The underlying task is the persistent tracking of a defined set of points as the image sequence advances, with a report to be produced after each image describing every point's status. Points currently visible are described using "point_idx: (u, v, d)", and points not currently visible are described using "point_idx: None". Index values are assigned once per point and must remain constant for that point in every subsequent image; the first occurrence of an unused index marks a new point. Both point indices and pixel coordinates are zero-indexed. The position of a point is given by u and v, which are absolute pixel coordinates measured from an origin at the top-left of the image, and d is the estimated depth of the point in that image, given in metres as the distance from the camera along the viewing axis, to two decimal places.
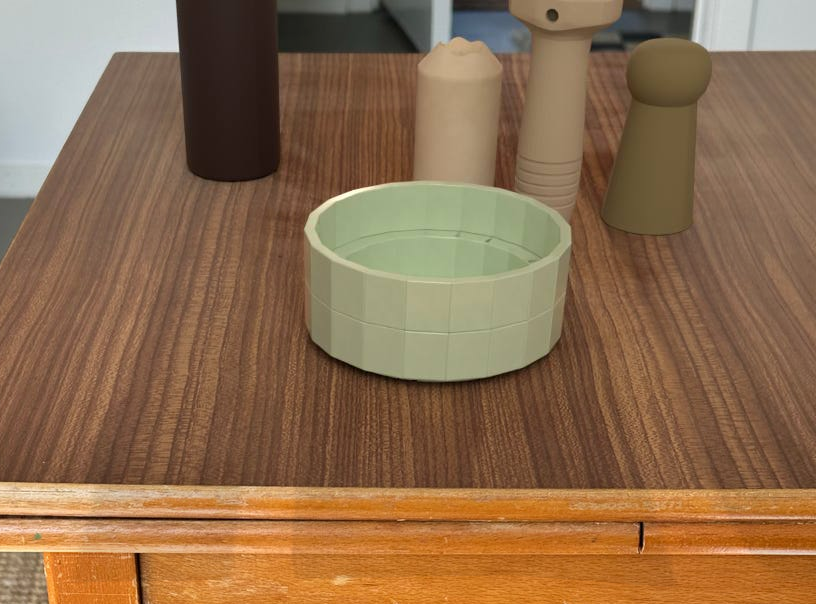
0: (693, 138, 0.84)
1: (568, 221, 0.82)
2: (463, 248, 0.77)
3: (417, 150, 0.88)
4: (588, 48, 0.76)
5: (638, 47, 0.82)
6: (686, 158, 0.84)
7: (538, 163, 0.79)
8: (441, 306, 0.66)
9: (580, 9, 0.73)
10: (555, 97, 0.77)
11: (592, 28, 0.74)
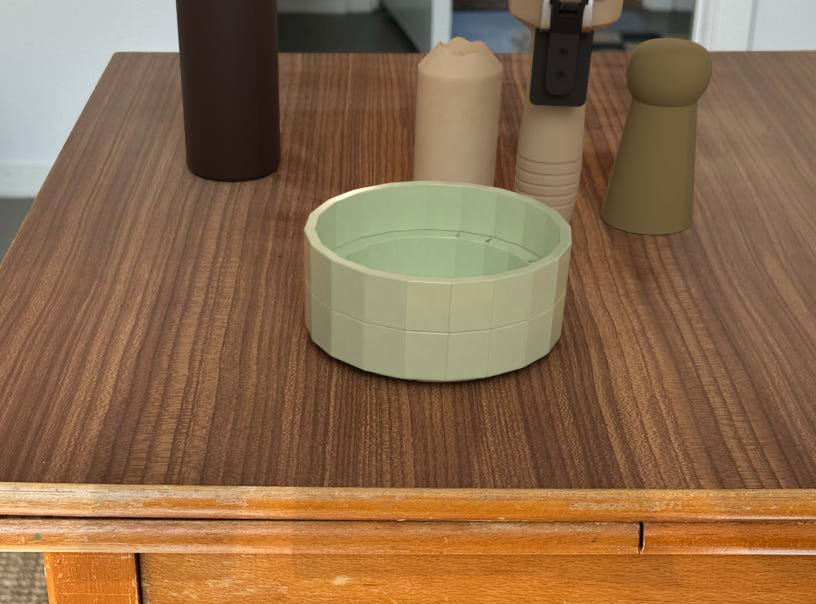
0: (693, 138, 0.84)
1: (568, 221, 0.82)
2: (463, 248, 0.77)
3: (417, 150, 0.88)
4: None
5: (638, 47, 0.82)
6: (686, 158, 0.84)
7: (538, 163, 0.79)
8: (441, 306, 0.66)
9: None
10: None
11: (592, 28, 0.74)
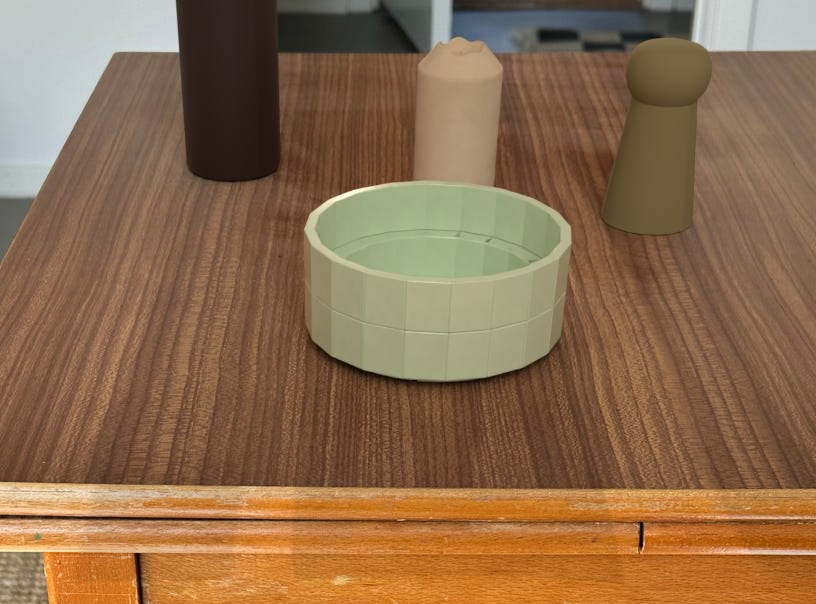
0: (693, 138, 0.84)
1: None
2: (463, 248, 0.77)
3: (417, 150, 0.88)
4: None
5: (638, 47, 0.82)
6: (686, 158, 0.84)
7: None
8: (441, 306, 0.66)
9: None
10: None
11: None
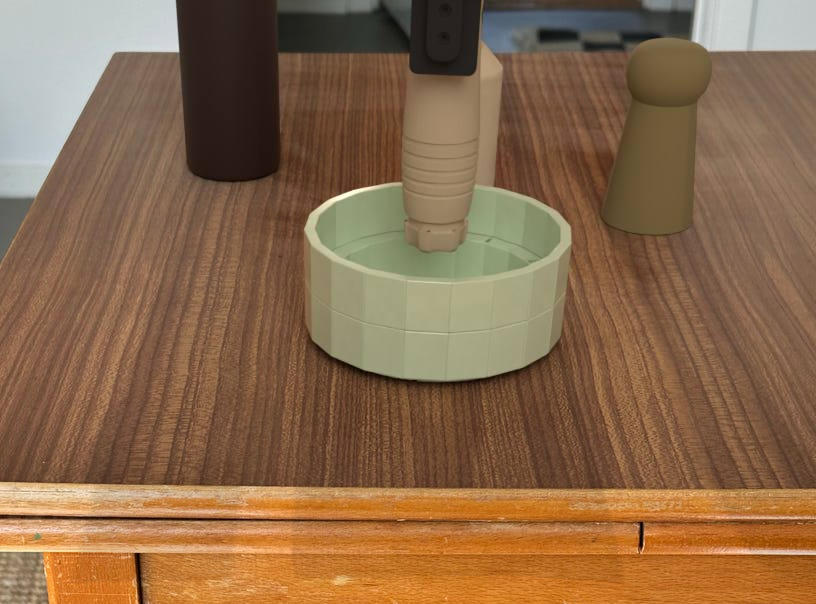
0: (693, 138, 0.84)
1: (465, 214, 0.69)
2: (463, 248, 0.77)
3: None
4: None
5: (638, 47, 0.82)
6: (686, 158, 0.84)
7: (425, 144, 0.66)
8: (441, 306, 0.66)
9: None
10: None
11: None
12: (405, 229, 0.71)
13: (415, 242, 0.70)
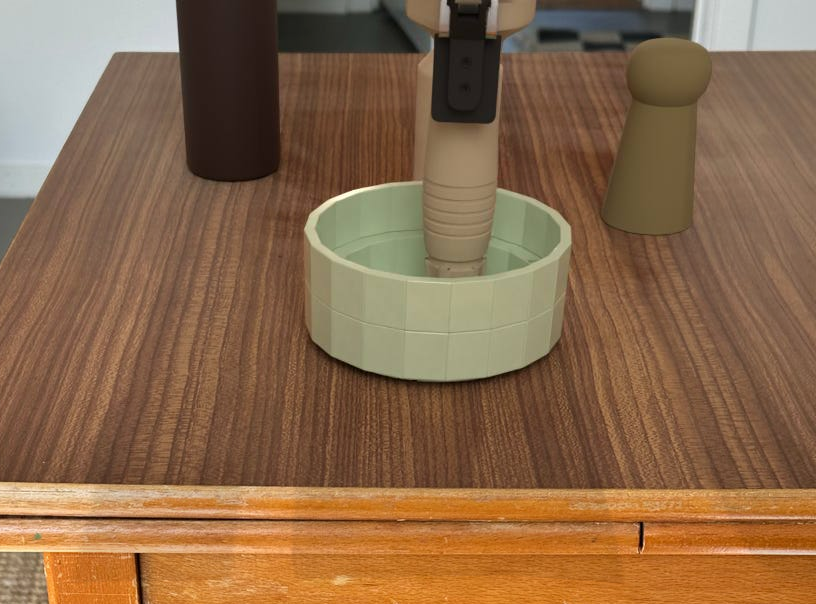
0: (693, 138, 0.84)
1: (484, 252, 0.72)
2: None
3: (417, 150, 0.88)
4: None
5: (638, 47, 0.82)
6: (686, 158, 0.84)
7: (446, 187, 0.69)
8: (441, 306, 0.66)
9: None
10: None
11: (499, 33, 0.64)
12: (426, 266, 0.73)
13: None
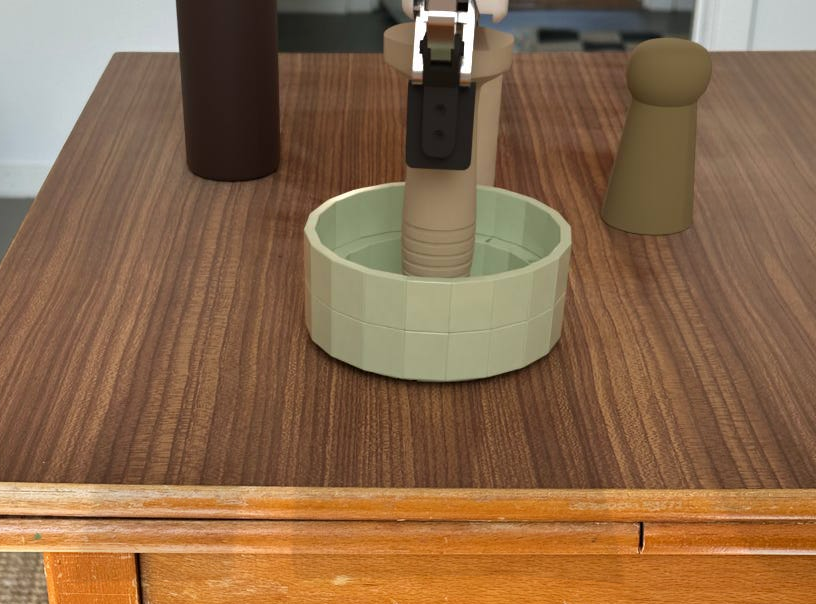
0: (693, 138, 0.84)
1: None
2: None
3: None
4: (475, 101, 0.66)
5: (638, 47, 0.82)
6: (686, 158, 0.84)
7: (424, 230, 0.69)
8: (441, 306, 0.66)
9: None
10: None
11: (476, 80, 0.64)
12: None
13: None
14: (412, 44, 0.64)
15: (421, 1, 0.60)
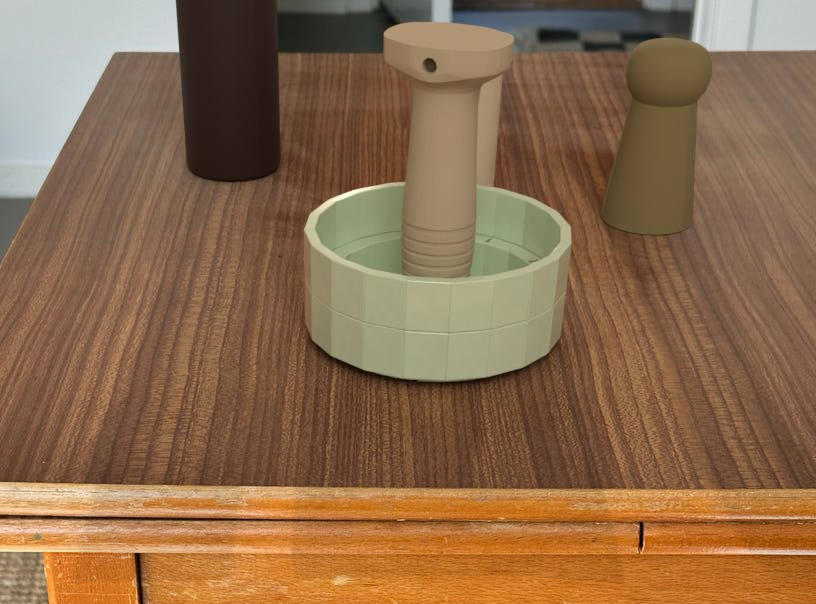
0: (693, 138, 0.84)
1: None
2: None
3: None
4: (475, 101, 0.66)
5: (638, 47, 0.82)
6: (686, 158, 0.84)
7: (424, 230, 0.69)
8: (441, 306, 0.66)
9: (461, 58, 0.63)
10: (438, 157, 0.67)
11: (476, 80, 0.64)
12: None
13: None
14: (412, 44, 0.64)
15: None
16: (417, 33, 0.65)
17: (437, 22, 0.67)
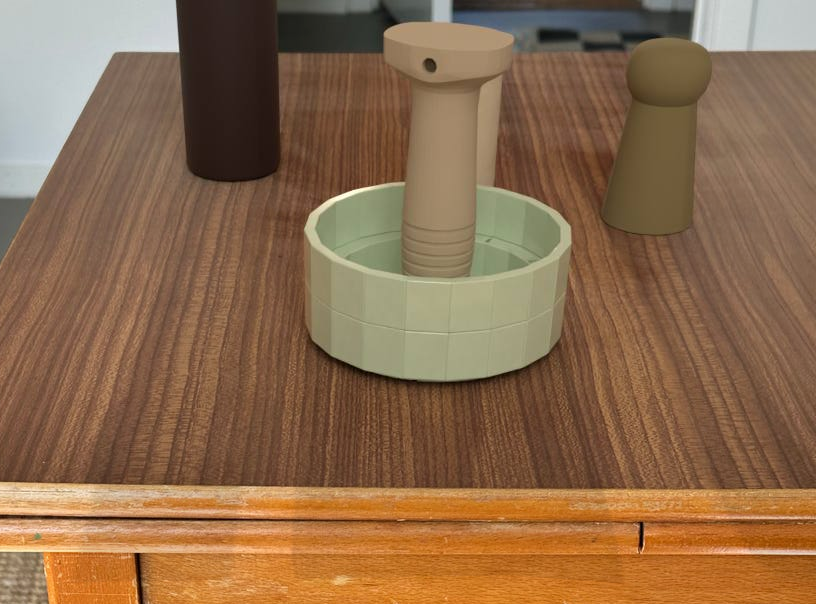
0: (693, 138, 0.84)
1: None
2: None
3: None
4: (475, 101, 0.66)
5: (638, 47, 0.82)
6: (686, 158, 0.84)
7: (424, 230, 0.69)
8: (441, 306, 0.66)
9: (461, 58, 0.63)
10: (438, 157, 0.67)
11: (476, 80, 0.64)
12: None
13: None
14: (412, 44, 0.64)
15: None
16: (417, 33, 0.65)
17: (437, 22, 0.67)
